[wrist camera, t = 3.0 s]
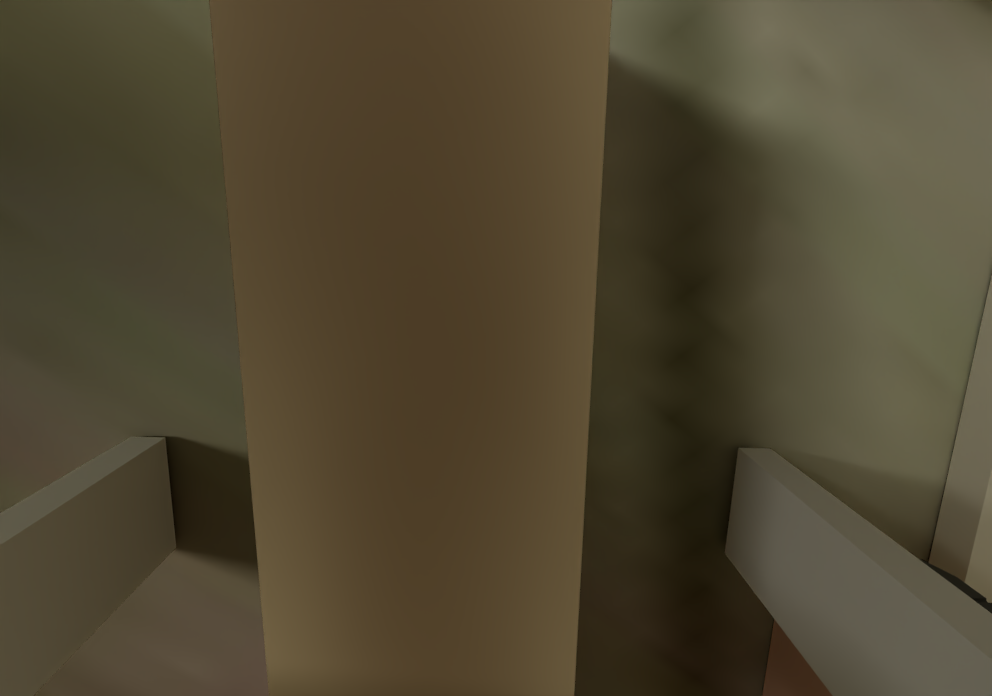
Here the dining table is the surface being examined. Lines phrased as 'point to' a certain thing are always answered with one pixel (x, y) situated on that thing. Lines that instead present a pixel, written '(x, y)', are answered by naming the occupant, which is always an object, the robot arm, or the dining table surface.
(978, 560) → the endcap rail
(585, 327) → the tan wooden beam
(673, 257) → the dining table surface
